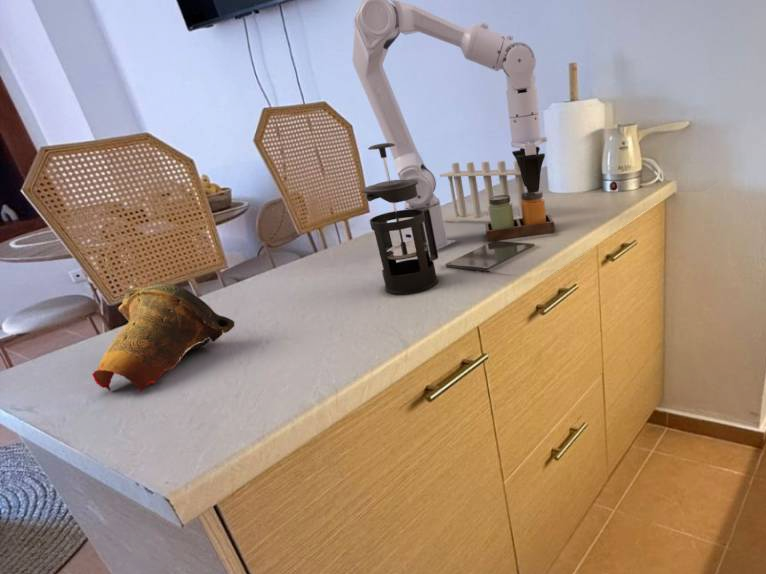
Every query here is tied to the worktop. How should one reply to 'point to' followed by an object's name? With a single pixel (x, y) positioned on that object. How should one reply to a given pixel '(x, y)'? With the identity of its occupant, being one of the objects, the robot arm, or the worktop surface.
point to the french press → (409, 272)
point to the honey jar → (533, 208)
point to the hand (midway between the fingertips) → (531, 188)
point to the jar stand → (520, 230)
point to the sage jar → (501, 212)
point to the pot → (158, 333)
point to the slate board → (488, 256)
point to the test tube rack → (474, 191)
